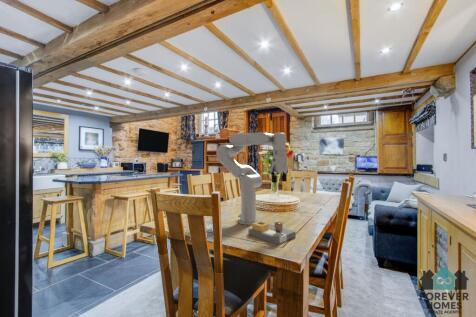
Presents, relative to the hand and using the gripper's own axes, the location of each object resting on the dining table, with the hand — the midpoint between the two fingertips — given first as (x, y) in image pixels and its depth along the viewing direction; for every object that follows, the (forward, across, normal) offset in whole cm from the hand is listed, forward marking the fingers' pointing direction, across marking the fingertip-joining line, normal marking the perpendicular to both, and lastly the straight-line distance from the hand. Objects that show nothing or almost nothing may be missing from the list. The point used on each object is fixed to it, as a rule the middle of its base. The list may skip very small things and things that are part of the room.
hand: (279, 181), depth 138 cm
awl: (+28, -16, -12) cm, 35 cm away
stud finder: (+25, -16, 0) cm, 30 cm away
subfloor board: (+28, -13, -5) cm, 32 cm away
